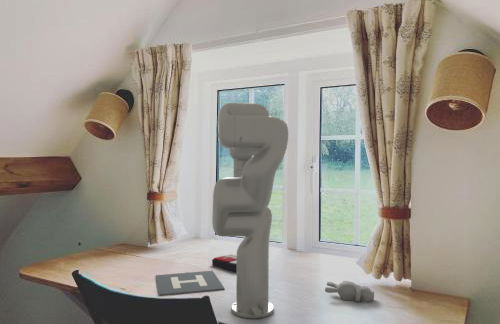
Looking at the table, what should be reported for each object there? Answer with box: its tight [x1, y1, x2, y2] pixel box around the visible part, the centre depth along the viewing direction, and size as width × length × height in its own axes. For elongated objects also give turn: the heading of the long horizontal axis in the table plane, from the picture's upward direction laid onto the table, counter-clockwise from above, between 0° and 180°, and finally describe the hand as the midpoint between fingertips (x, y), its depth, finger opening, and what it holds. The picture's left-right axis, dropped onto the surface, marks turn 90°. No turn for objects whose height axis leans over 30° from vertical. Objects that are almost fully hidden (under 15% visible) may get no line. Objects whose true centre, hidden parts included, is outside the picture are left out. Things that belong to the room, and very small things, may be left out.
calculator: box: [211, 253, 237, 274], centre depth 158 cm, size 11×4×15 cm
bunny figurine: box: [324, 280, 375, 304], centre depth 121 cm, size 10×5×15 cm
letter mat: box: [155, 270, 225, 297], centre depth 137 cm, size 22×22×1 cm
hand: (243, 223), depth 138 cm, fingers closed on blue cube, 6 cm apart
